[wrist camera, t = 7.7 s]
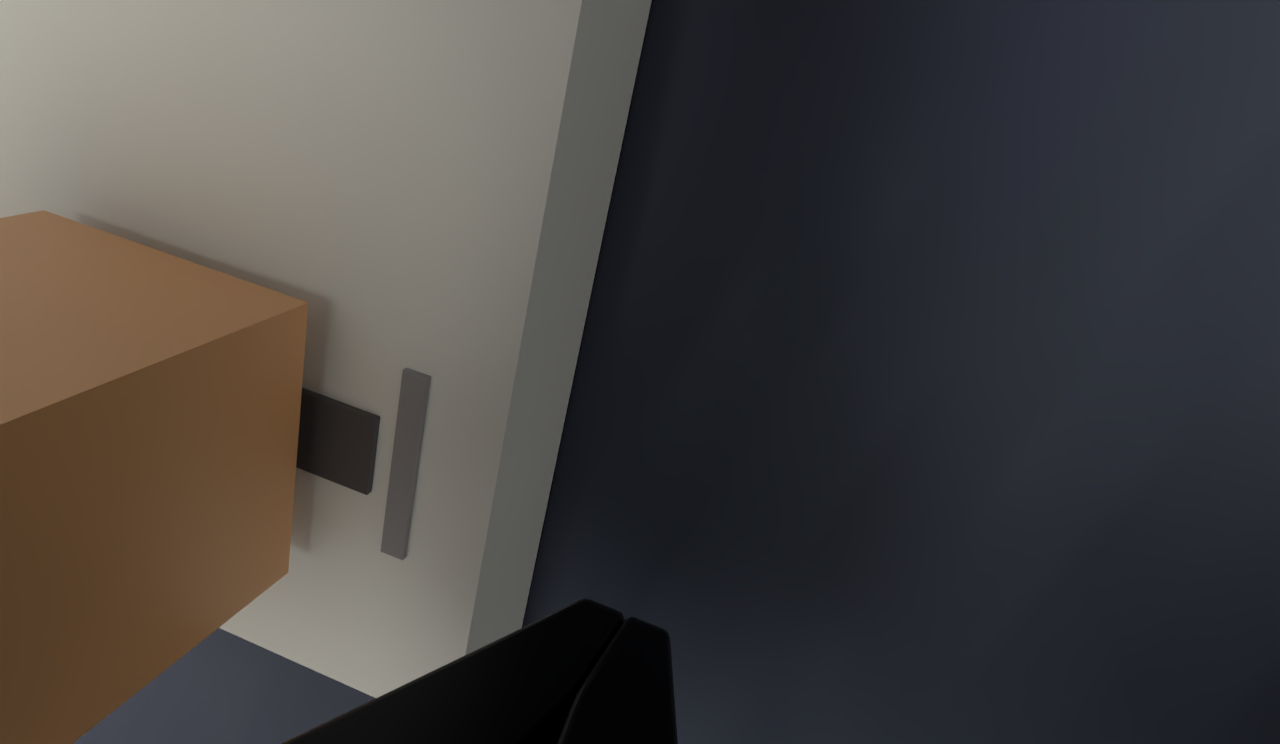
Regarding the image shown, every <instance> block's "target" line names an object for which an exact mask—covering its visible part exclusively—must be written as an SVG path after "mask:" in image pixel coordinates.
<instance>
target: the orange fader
mask: <svg viewBox="0 0 1280 744" xmlns="http://www.w3.org/2000/svg"><path fill="white" fill-rule="evenodd" d="M307 315H308V302H305V301H302V300H300V299H297V298H294V297H291V296H288V295H285V294H282V293H279V292H277V291H274V290H271V289H268V288H265V287H262V286H259V285H257V284H254V283H251V282H248V281H245V280H242V279H239V278H236V277H234V276H231V275H228V274H225V273H222V272H219V271H216V270H214V269H211V268H208V267H205V266H202V265H199V264H196V263H194V262H191V261H188V260H185V259H182V258H179V257H176V256H173V255H171V254H168V253H165V252H162V251H159V250H156V249H153V248H151V247H148V246H145V245H142V244H139V243H136V242H133V241H130V240H128V239H125V238H122V237H119V236H116V235H113V234H110V233H108V232H105V231H102V230H99V229H96V228H93V227H90V226H87V225H85V224H82V223H79V222H76V221H73V220H70V219H67V218H65V217H62V216H59V215H56V214H53V213H50V212H47V211H45V210H42V211H37V212H31V213H25V214H20V215H14V216H9V217H3V218H0V744H72V743H74V742H75V741H76V740H77V739H79V738H80V737H81V736H82V735H84V734H85V733H86V732H88V731H89V730H90V729H91V728H93V727H94V726H95V725H96V724H98V723H99V722H100V721H101V720H103V719H104V718H105V717H106V716H108V715H109V714H110V713H112V712H113V711H114V710H115V709H117V708H118V707H119V706H120V705H122V704H123V703H124V702H125V701H127V700H128V699H129V698H130V697H132V696H133V695H134V694H136V693H137V692H138V691H139V690H141V689H142V688H143V687H144V686H146V685H147V684H148V683H149V682H151V681H152V680H153V679H154V678H156V677H157V676H158V675H160V674H161V673H162V672H163V671H165V670H166V669H167V668H168V667H170V666H171V665H172V664H173V663H175V662H176V661H177V660H178V659H180V658H181V657H182V656H184V655H185V654H186V653H187V652H189V651H190V650H191V649H192V648H194V647H195V646H196V645H197V644H199V643H200V642H201V641H203V640H204V639H205V638H206V637H208V636H209V635H210V634H211V633H213V632H214V631H215V630H216V629H218V628H219V627H220V626H221V625H223V624H224V623H225V622H227V621H228V620H229V619H230V618H232V617H233V616H234V615H235V614H237V613H238V612H239V611H240V610H242V609H243V608H244V607H245V606H247V605H248V604H249V603H251V602H252V601H253V600H254V599H256V598H257V597H258V596H259V595H261V594H262V593H263V592H264V591H266V590H267V589H268V588H269V587H271V586H272V585H273V584H275V583H276V582H277V581H278V580H280V579H281V578H282V577H283V576H285V575H286V574H287V573H288V569H289V556H290V542H291V529H292V516H293V502H294V489H295V475H296V462H297V449H298V435H299V422H300V408H301V395H302V382H303V368H304V355H305V341H306V328H307Z"/></svg>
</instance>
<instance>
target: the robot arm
mask: <svg viewBox="0 0 1280 744" xmlns="http://www.w3.org/2000/svg"><path fill="white" fill-rule="evenodd" d="M282 744H678V740H677V727H676V713H675V699H674V686H673V672H672V658H671V645H670V637H669V634H668V632H667V631H666V630H664V629H662V628H660V627H657V626H655V625H652V624H650V623H647V622H645V621H642V620H640V619H637V618H635V617H630V618H627V619H626V620H624V616H623V614H622V613H621V612H620V611H618V610H615V609H613V608H610V607H608V606H605V605H603V604H600V603H598V602H595V601H593V600H589V599H582V600H579V601H577V602H574V603H572V604H570V605H568V606H566V607H564V608H562V609H560V610H558V611H556V612H554V613H552V614H550V615H548V616H545V617H543V618H541V619H539V620H537V621H535V622H533V623H531V624H529V625H527V626H525V627H523V628H521V629H519V630H516V631H514V632H512V633H510V634H508V635H506V636H504V637H502V638H500V639H498V640H496V641H494V642H492V643H489V644H487V645H485V646H483V647H481V648H479V649H477V650H475V651H473V652H471V653H469V654H467V655H465V656H463V657H460V658H458V659H456V660H454V661H452V662H450V663H448V664H446V665H444V666H442V667H440V668H438V669H436V670H433V671H431V672H429V673H427V674H425V675H423V676H421V677H419V678H417V679H415V680H413V681H411V682H409V683H407V684H404V685H402V686H400V687H398V688H396V689H394V690H392V691H390V692H388V693H386V694H384V695H382V696H380V697H378V698H375V699H373V700H371V701H369V702H367V703H365V704H363V705H361V706H359V707H357V708H355V709H353V710H351V711H348V712H346V713H344V714H342V715H340V716H338V717H336V718H334V719H332V720H330V721H328V722H326V723H324V724H322V725H319V726H317V727H315V728H313V729H311V730H309V731H307V732H305V733H303V734H301V735H299V736H297V737H295V738H292V739H290V740H288V741H286V742H284V743H282Z"/></svg>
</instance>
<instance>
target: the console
mask: <svg viewBox="0 0 1280 744" xmlns="http://www.w3.org/2000/svg"><path fill="white" fill-rule="evenodd" d="M651 1H652V0H0V218H3V217H9V216H14V215H20V214H25V213H31V212H37V211H42V210H45V211H47V212H50V213H53V214H56V215H59V216H62V217H65V218H67V219H70V220H73V221H76V222H79V223H82V224H85V225H87V226H90V227H93V228H96V229H99V230H102V231H105V232H108V233H110V234H113V235H116V236H119V237H122V238H125V239H128V240H130V241H133V242H136V243H139V244H142V245H145V246H148V247H151V248H153V249H156V250H159V251H162V252H165V253H168V254H171V255H173V256H176V257H179V258H182V259H185V260H188V261H191V262H194V263H196V264H199V265H202V266H205V267H208V268H211V269H214V270H216V271H219V272H222V273H225V274H228V275H231V276H234V277H236V278H239V279H242V280H245V281H248V282H251V283H254V284H257V285H259V286H262V287H265V288H268V289H271V290H274V291H277V292H279V293H282V294H285V295H288V296H291V297H294V298H297V299H300V300H302V301H305V302H308V315H307V328H306V341H305V355H304V368H303V382H302V395H301V408H300V422H299V435H298V449H297V462H296V475H295V489H294V502H293V516H292V529H291V542H290V556H289V569H288V573H287V574H286V575H285V576H283V577H282V578H281V579H280V580H278V581H277V582H276V583H275V584H273V585H272V586H271V587H269V588H268V589H267V590H266V591H264V592H263V593H262V594H261V595H259V596H258V597H257V598H256V599H254V600H253V601H252V602H251V603H249V604H248V605H247V606H245V607H244V608H243V609H242V610H240V611H239V612H238V613H237V614H235V615H234V616H233V617H232V618H230V619H229V620H228V621H227V622H225V623H224V624H223V625H221V626H220V627H219V628H220V629H223V630H225V631H227V632H229V633H232V634H234V635H236V636H238V637H241V638H243V639H245V640H247V641H250V642H252V643H254V644H256V645H258V646H261V647H263V648H265V649H267V650H270V651H272V652H274V653H276V654H279V655H281V656H283V657H285V658H288V659H290V660H292V661H294V662H296V663H299V664H301V665H303V666H305V667H308V668H310V669H312V670H314V671H317V672H319V673H321V674H323V675H326V676H328V677H330V678H332V679H334V680H337V681H339V682H341V683H343V684H346V685H348V686H350V687H352V688H355V689H357V690H359V691H361V692H364V693H366V694H368V695H370V696H372V697H375V698H378V697H380V696H382V695H384V694H386V693H388V692H390V691H392V690H394V689H396V688H398V687H400V686H402V685H404V684H407V683H409V682H411V681H413V680H415V679H417V678H419V677H421V676H423V675H425V674H427V673H429V672H431V671H433V670H436V669H438V668H440V667H442V666H444V665H446V664H448V663H450V662H452V661H454V660H456V659H458V658H460V657H463V656H465V655H467V654H469V653H471V652H473V651H475V650H477V649H479V648H481V647H483V646H485V645H487V644H489V643H492V642H494V641H496V640H498V639H500V638H502V637H504V636H506V635H508V634H510V633H512V632H514V631H516V630H519V629H521V628H522V624H523V619H524V614H525V610H526V605H527V600H528V595H529V590H530V585H531V581H532V576H533V571H534V566H535V561H536V557H537V552H538V547H539V542H540V537H541V532H542V528H543V523H544V518H545V513H546V508H547V503H548V499H549V494H550V489H551V484H552V479H553V474H554V470H555V465H556V460H557V455H558V450H559V445H560V441H561V436H562V431H563V426H564V421H565V417H566V412H567V407H568V402H569V397H570V392H571V388H572V383H573V378H574V373H575V368H576V363H577V359H578V354H579V349H580V344H581V339H582V334H583V330H584V325H585V320H586V315H587V310H588V306H589V301H590V296H591V291H592V286H593V281H594V277H595V272H596V267H597V262H598V257H599V252H600V248H601V243H602V238H603V233H604V228H605V223H606V219H607V214H608V209H609V204H610V199H611V195H612V190H613V185H614V180H615V175H616V170H617V166H618V161H619V156H620V151H621V146H622V141H623V137H624V132H625V127H626V122H627V117H628V112H629V108H630V103H631V98H632V93H633V88H634V84H635V79H636V74H637V69H638V64H639V59H640V55H641V50H642V45H643V40H644V35H645V30H646V26H647V21H648V16H649V11H650V6H651Z"/></svg>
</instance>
